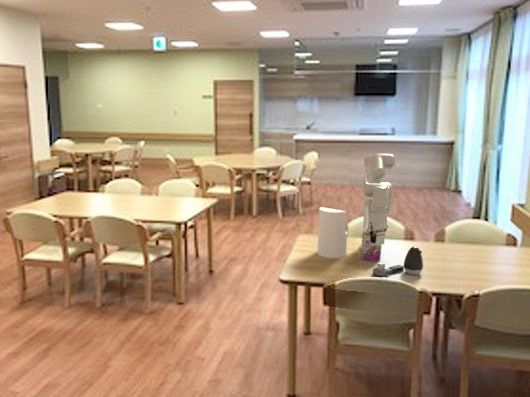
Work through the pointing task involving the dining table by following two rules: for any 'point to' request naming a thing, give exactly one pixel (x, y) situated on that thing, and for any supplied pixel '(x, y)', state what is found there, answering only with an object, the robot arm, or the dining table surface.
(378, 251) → the candy bar box
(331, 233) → the cylinder
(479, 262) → the dining table surface
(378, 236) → the cardboard mailer box
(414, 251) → the dark brown rounded piece
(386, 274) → the small saucepan
